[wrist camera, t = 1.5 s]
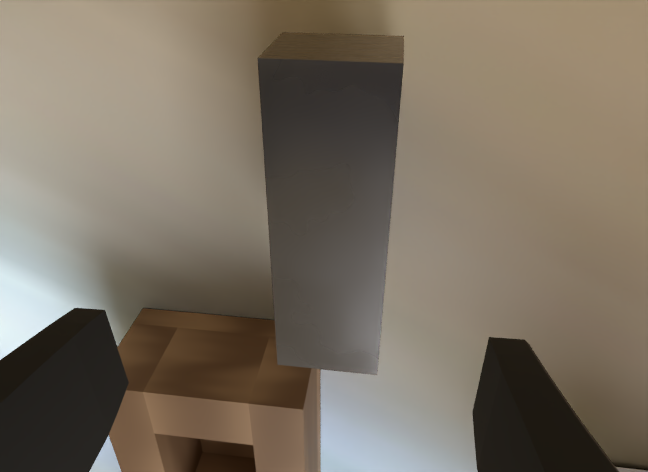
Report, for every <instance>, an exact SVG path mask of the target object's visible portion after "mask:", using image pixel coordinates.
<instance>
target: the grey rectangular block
mask: <svg viewBox="0 0 648 472" xmlns="http://www.w3.org/2000/svg"><path fill="white" fill-rule="evenodd" d="M403 58H404V36H383V35H350V34H318V33H286V32H283V33H282V34H281V35H280V36H279V37H278V38H277V39H276V40H275V41H274V42H273V43H272V44H271V45H270V46H269V47H268V48H267V49H266V50H265V51H264V52H263V53H262V54H261V55H260V56H259V57H258V70H259V85H260V101H261V116H262V132H263V147H264V163H265V178H266V194H267V209H268V225H269V240H270V256H271V272H272V287H273V303H274V318H275V334H276V349H277V365H285V366H295V367H305V368H314V369H324V370H334V371H343V372H353V373H363V374H373V375H377V371H378V359H379V347H380V336H381V324H382V312H383V300H384V288H385V276H386V264H387V253H388V241H389V229H390V217H391V205H392V193H393V181H394V169H395V158H396V146H397V134H398V122H399V110H400V98H401V86H402V75H403Z"/></svg>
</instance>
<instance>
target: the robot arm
mask: <svg viewBox="0 0 648 472" xmlns="http://www.w3.org/2000/svg"><path fill="white" fill-rule="evenodd" d="M128 384H129V382H128V379H127V376H126V373H125V370H124V366H123V363H122V360H121V357H120V354H119V351H118V348H117V345H116V342H115V339H114V336H113V333H112V330H111V327H110V324H109V321H108V318H107V315H106V312H105V310H97V309H83V308H74V309H73V310H71V311H70V312H68V313H67V314H65V315H64V316H62V317H61V318H59V319H58V320H56V321H55V322H53V323H52V324H50V325H49V326H48V327H46V328H45V329H43V330H42V331H41V332H39V333H38V334H36V335H35V336H33V337H32V338H31V339H29V340H28V341H26V342H25V343H24V344H22V345H21V346H19V347H18V348H17V349H15V350H14V351H12V352H11V353H10V354H8V355H7V356H5V357H4V358H3V359H1V360H0V472H89V471H90V469H91V467H92V465H93V463H94V461H95V460H96V458H97V456H98V454H99V452H100V450H101V448H102V446H103V444H104V443H105V441H106V439H107V437H108V435H109V433H110V430H111V428H112V426H113V423H114V421H115V418H116V416H117V413H118V411H119V408H120V405H121V403H122V400H123V397H124V394H125V392H126V389H127V386H128ZM473 424H474V437H475V449H476V461H477V470H478V472H648V470H639V469H630V468H622V467H615V466H614V464H613V463H612V462H611V461H610V459H609V458H608V457H607V455H606V454H605V453H604V451H603V450H602V449H601V447H600V446H599V444H598V443H597V442H596V440H595V439H594V438H593V436H592V435H591V434H590V432H589V431H588V430H587V428H586V427H585V426H584V424H583V423H582V422H581V420H580V419H579V417H578V416H577V415H576V413H575V412H574V410H573V409H572V408H571V406H570V405H569V403H568V402H567V400H566V399H565V398H564V396H563V395H562V393H561V392H560V390H559V389H558V387H557V386H556V384H555V383H554V382H553V380H552V379H551V377H550V376H549V374H548V373H547V371H546V370H545V368H544V367H543V365H542V363H541V362H540V360H539V359H538V357H537V356H536V354H535V353H534V351H533V350H532V348H531V346H530V345H529V344H528V343H527V342H526V341H525V340H520V339H506V338H492V337H489V340H488V345H487V349H486V354H485V358H484V363H483V367H482V372H481V376H480V381H479V386H478V390H477V395H476V399H475V404H474V408H473Z"/></svg>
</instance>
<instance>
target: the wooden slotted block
mask: <svg viewBox="0 0 648 472" xmlns="http://www.w3.org/2000/svg"><path fill="white" fill-rule="evenodd" d="M117 348H118V351H119V354H120V357H121V360H122V363H123V366H124V370H125V373H126V376H127V379H128V382H129V384H128V386H127V389H126V392H125V394H124V397H123V400H122V403H121V405H120V408H119V411H118V413H117V416H116V418H115V421H114V423H113V426H112V428H111V430H110V433H109V437H110V440H111V443H112V445H113V448H114V451H115V454H116V457H117V460H118V463H119V465H120V468H121V471H122V472H320V369H314V368H305V367H295V366H285V365H277V349H276V334H275V320H266V319H255V318H244V317H233V316H222V315H211V314H201V313H190V312H179V311H168V310H157V309H146V308H143V309H142V310H141V312H140V313H139V315H138V317H137V318H136V320H135V321H134V323H133V324H132V326H131V327H130V329H129V330H128V332H127V333H126V335H125V336H124V338H123V340H122V341H121V343H120V344H119V346H118V347H117Z"/></svg>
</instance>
